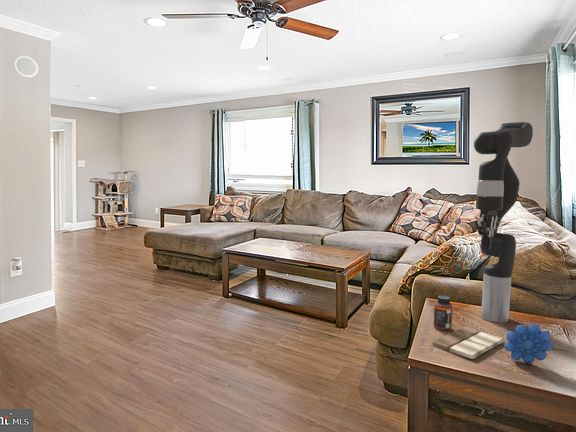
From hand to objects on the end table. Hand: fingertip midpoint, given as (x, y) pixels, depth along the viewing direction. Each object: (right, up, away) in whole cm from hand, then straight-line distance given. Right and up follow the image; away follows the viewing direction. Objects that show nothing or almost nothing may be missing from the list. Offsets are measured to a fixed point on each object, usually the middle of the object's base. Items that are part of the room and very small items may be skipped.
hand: (486, 248), depth 117 cm
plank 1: (-8, -31, -5) cm, 33 cm away
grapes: (+5, -33, -11) cm, 35 cm away
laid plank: (-8, -31, +3) cm, 32 cm away
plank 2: (0, -31, +1) cm, 31 cm away
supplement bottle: (-9, -30, +13) cm, 34 cm away
